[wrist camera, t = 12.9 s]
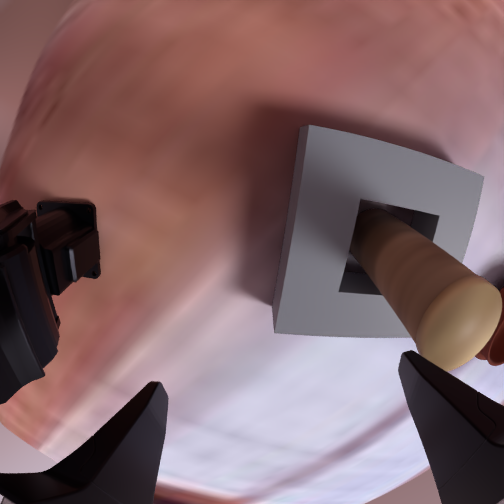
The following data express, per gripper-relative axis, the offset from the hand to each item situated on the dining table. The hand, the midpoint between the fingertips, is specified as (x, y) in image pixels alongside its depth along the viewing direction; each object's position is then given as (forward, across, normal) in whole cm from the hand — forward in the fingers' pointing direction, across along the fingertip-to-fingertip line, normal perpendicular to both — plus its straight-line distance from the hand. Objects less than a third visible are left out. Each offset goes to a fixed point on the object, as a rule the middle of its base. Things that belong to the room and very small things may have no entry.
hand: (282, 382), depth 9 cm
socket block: (+13, -8, 0) cm, 15 cm away
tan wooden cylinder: (+13, -8, 0) cm, 15 cm away
